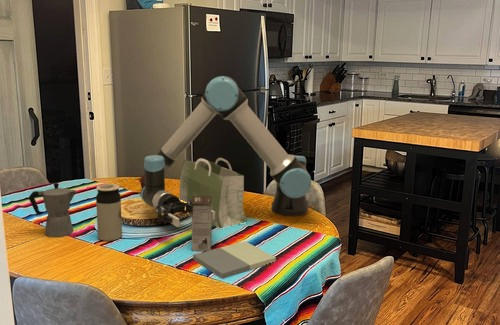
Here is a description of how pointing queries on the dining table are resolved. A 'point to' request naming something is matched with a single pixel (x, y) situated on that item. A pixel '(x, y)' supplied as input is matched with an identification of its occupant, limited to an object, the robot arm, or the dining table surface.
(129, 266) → the dining table surface
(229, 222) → the grocery bag
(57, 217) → the coffeepot
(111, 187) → the travel mug
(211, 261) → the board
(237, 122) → the robot arm
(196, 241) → the coffee box
